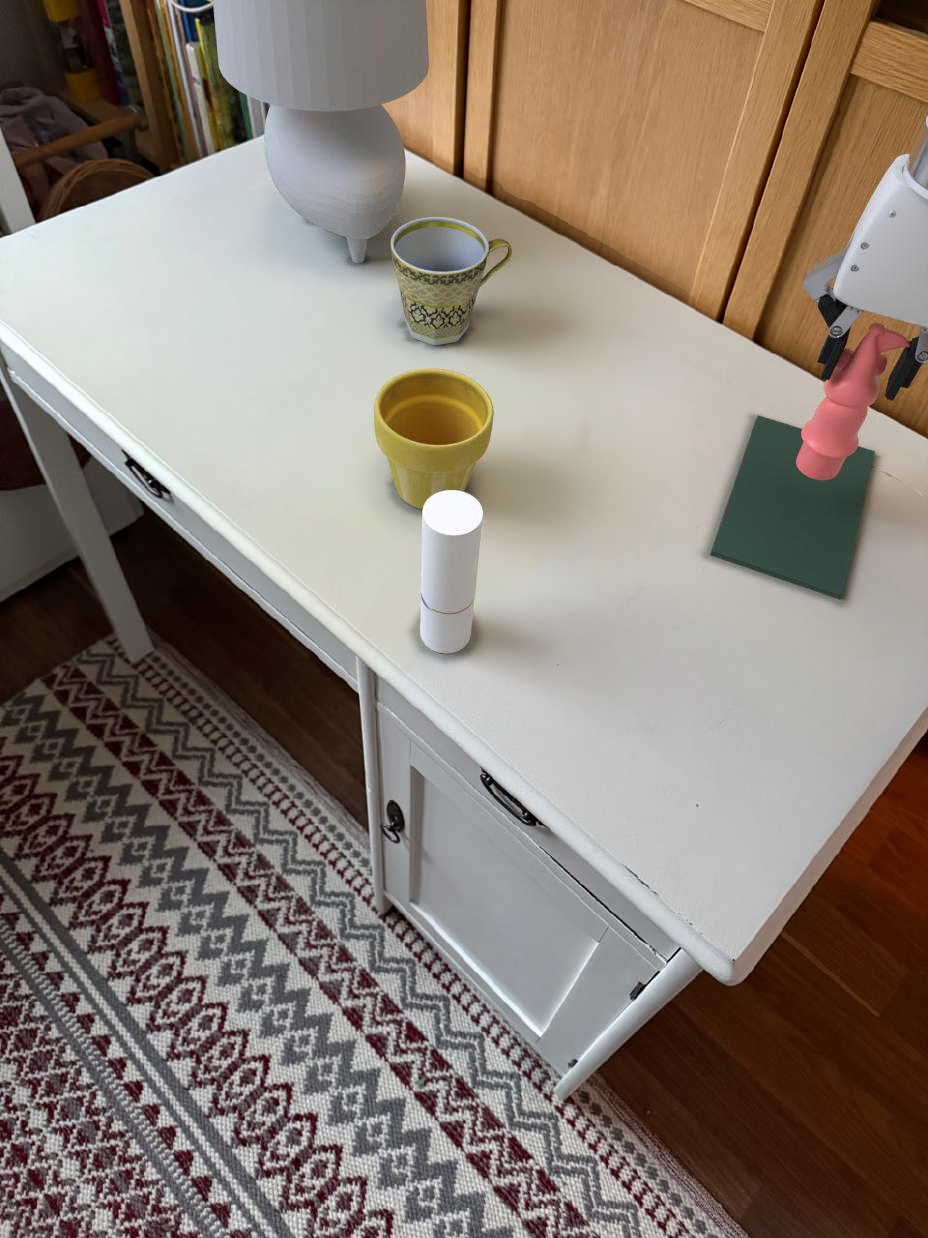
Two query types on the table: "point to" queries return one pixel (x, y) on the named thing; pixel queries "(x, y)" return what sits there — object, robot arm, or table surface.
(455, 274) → the ceramic cup
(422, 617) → the tube
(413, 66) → the table lamp
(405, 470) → the flower pot
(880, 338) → the figurine
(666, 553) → the table surface
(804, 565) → the mat
